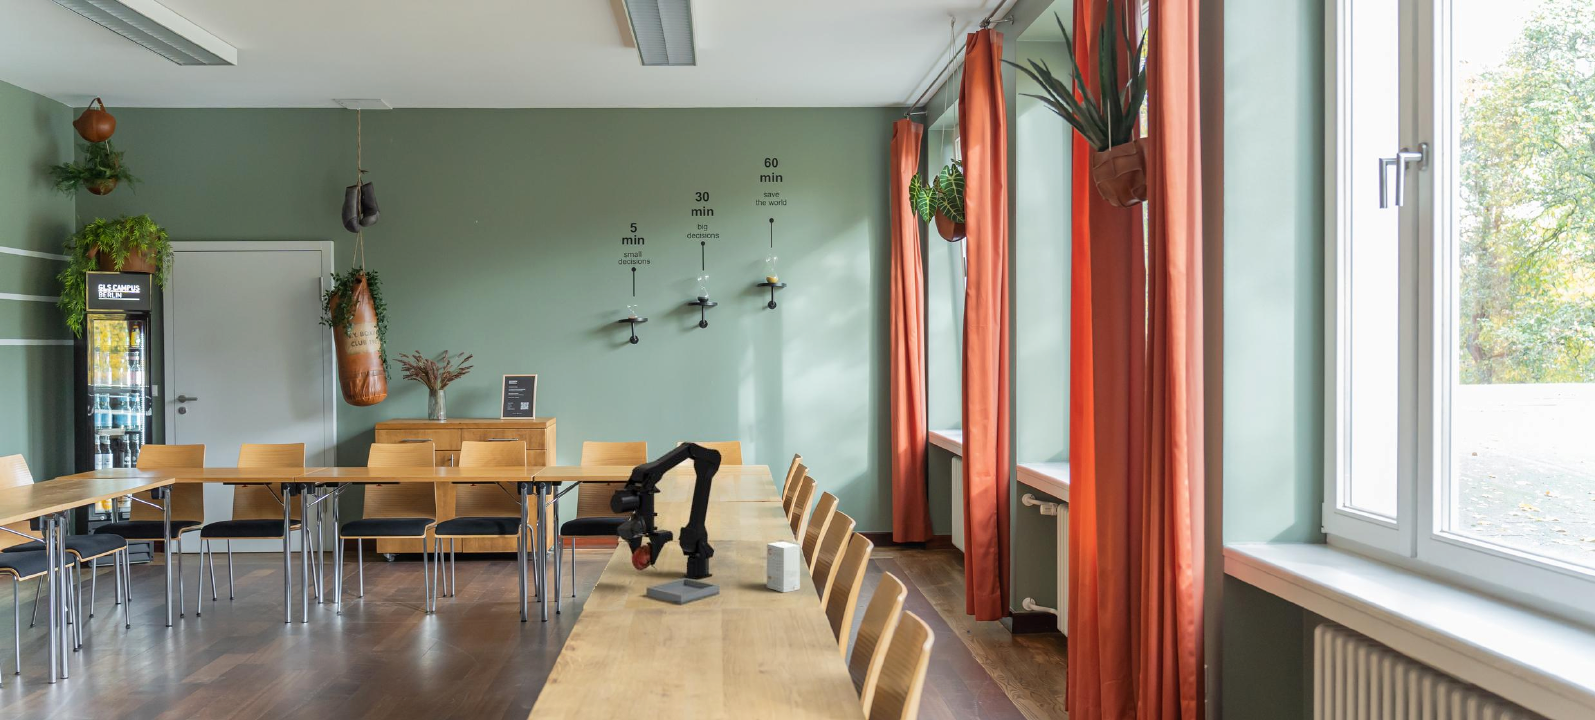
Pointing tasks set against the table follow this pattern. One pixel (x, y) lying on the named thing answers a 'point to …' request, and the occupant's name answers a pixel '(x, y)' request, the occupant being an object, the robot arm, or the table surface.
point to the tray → (682, 591)
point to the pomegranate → (641, 557)
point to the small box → (783, 566)
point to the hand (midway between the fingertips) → (644, 562)
